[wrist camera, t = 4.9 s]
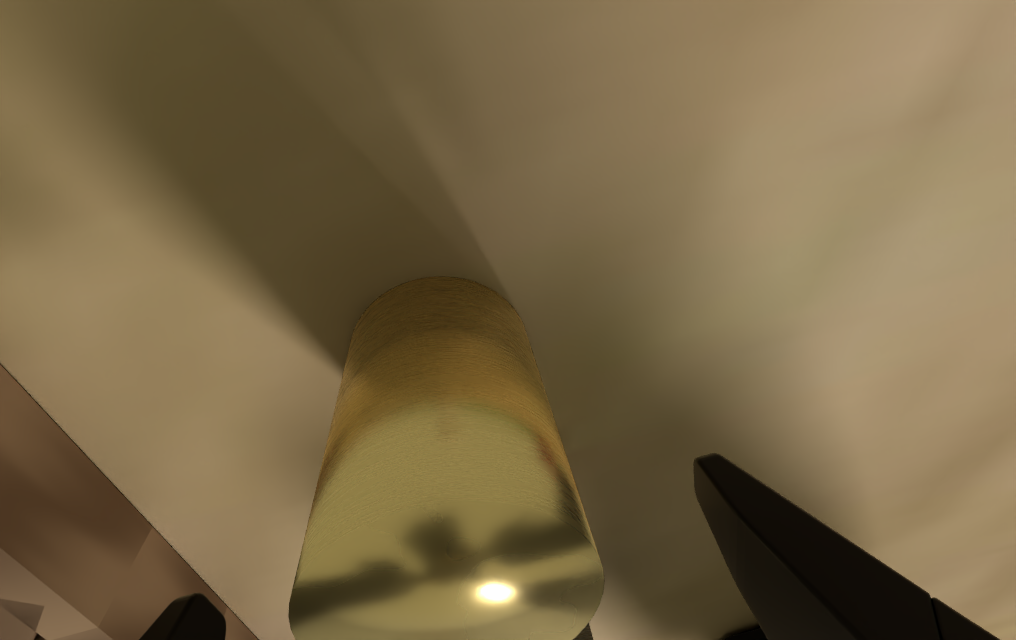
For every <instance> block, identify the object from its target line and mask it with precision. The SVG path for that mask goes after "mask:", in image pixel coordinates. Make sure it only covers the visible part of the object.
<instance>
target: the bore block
mask: <svg viewBox="0 0 1016 640" xmlns="http://www.w3.org/2000/svg"><path fill="white" fill-rule="evenodd" d="M198 592H199V593H202V594H204V595H205V596H206V597H207V598H208V599H209V600H210V601H211V602H212V603H213V604H214V605H215V606H216V608H217V609H218V610H219V611H220V612H221V613H222V614H223V615H224V617H225V620H226V637H225V640H258V639H257V638H256V637H255V636H254V635H253V634H252V633H251V632H250V631H249V629H248V628H247V627H246V626H245V625H244V624H243V623H242V622H241V621H240V620H239V619H238V618H237V617H236V616H235V614H234V613H233V612H232V611H231V610H230V609H229V608H228V607H227V606H226V605H225V604H224V603H223V602H222V601H221V600H220V598H219V597H218V596H217V595H216V594H215V593H214V592H213V591H212V590H211V589H210V588H209V587H208V586H207V585H206V584H205V582H204V581H203V580H202V579H201V578H200V577H199V576H198V575H197V574H196V573H195V572H194V571H193V570H192V569H191V568H190V566H189V565H188V564H187V563H186V562H185V561H184V560H183V559H182V558H181V557H180V556H179V555H178V554H177V553H176V552H175V550H174V549H173V548H172V547H171V546H170V545H169V544H168V543H167V542H166V541H165V540H164V539H163V538H162V537H161V536H160V534H159V533H158V532H157V531H156V530H155V529H154V528H153V527H152V526H151V525H150V524H149V523H148V522H147V521H146V520H145V518H144V517H143V516H142V515H141V514H140V513H139V512H138V511H137V510H136V509H135V508H134V507H133V506H132V505H131V504H130V502H129V501H128V500H127V499H126V498H125V497H124V496H123V495H122V494H121V493H120V492H119V491H118V490H117V489H116V488H115V486H114V485H113V484H112V483H111V482H110V481H109V480H108V479H107V478H106V477H105V476H104V475H103V474H102V473H101V471H100V470H99V469H98V468H97V467H96V466H95V465H94V464H93V463H92V462H91V461H90V460H89V459H88V458H87V457H86V455H85V454H84V453H83V452H82V451H81V450H80V449H79V448H78V447H77V446H76V445H75V444H74V443H73V442H72V441H71V439H70V438H69V437H68V436H67V435H66V434H65V433H64V432H63V431H62V430H61V429H60V428H59V427H58V426H57V425H56V423H55V422H54V421H53V420H52V419H51V418H50V417H49V416H48V415H47V414H46V413H45V412H44V411H43V410H42V409H41V407H40V406H39V405H38V404H37V403H36V402H35V401H34V400H33V399H32V398H31V397H30V396H29V395H28V394H27V393H26V391H25V390H24V389H23V388H22V387H21V386H20V385H19V384H18V383H17V382H16V381H15V380H14V379H13V378H12V377H11V375H10V374H9V373H8V372H7V371H6V370H5V369H4V368H3V367H2V366H1V365H0V640H139V639H140V638H141V637H142V635H143V634H144V633H145V632H146V631H147V630H148V628H149V627H150V626H151V625H152V624H153V623H154V621H155V620H156V619H157V618H158V617H159V616H160V615H161V613H162V612H163V611H164V610H165V609H166V608H167V606H168V605H169V604H170V603H171V602H172V601H173V600H175V599H177V598H179V597H182V596H185V595H189V594H193V593H198Z"/></svg>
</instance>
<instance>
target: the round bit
mask: <svg viewBox="0 0 1016 640" xmlns="http://www.w3.org/2000/svg"><path fill="white" fill-rule="evenodd" d="M603 590H604V571H603V567H602V564H601V561H600V558H599V555H598V552H597V548H596V545H595V542H594V539H593V536H592V533H591V530H590V527H589V524H588V521H587V518H586V515H585V512H584V509H583V505H582V502H581V499H580V496H579V493H578V490H577V487H576V484H575V481H574V478H573V475H572V472H571V469H570V466H569V463H568V459H567V456H566V453H565V450H564V447H563V444H562V441H561V438H560V435H559V432H558V429H557V426H556V423H555V420H554V416H553V413H552V410H551V407H550V404H549V401H548V398H547V395H546V392H545V389H544V386H543V383H542V380H541V377H540V374H539V370H538V367H537V364H536V361H535V358H534V355H533V352H532V349H531V346H530V343H529V340H528V337H527V334H526V331H525V328H524V325H523V323H522V321H521V319H520V317H519V315H518V314H517V312H516V311H515V310H514V308H513V307H512V306H511V305H510V304H509V303H508V302H507V301H506V300H505V299H504V298H503V297H501V296H500V295H499V294H498V293H496V292H495V291H493V290H491V289H489V288H488V287H486V286H483V285H481V284H479V283H476V282H473V281H469V280H466V279H461V278H455V277H428V278H422V279H417V280H413V281H410V282H407V283H404V284H401V285H399V286H397V287H395V288H393V289H391V290H389V291H387V292H386V293H384V294H383V295H381V296H380V297H379V298H378V299H376V300H375V301H374V302H373V303H372V304H371V305H370V306H369V307H368V308H367V309H366V310H365V312H364V313H363V314H362V316H361V317H360V319H359V321H358V322H357V325H356V327H355V329H354V331H353V335H352V339H351V343H350V347H349V351H348V355H347V360H346V364H345V368H344V372H343V377H342V381H341V385H340V389H339V394H338V398H337V402H336V406H335V411H334V415H333V419H332V423H331V428H330V432H329V436H328V440H327V445H326V449H325V453H324V457H323V462H322V466H321V470H320V474H319V479H318V483H317V487H316V491H315V496H314V500H313V504H312V509H311V513H310V517H309V521H308V526H307V530H306V534H305V538H304V543H303V547H302V551H301V555H300V560H299V564H298V568H297V572H296V577H295V581H294V585H293V589H292V594H291V598H290V602H289V622H290V627H291V630H292V633H293V635H294V637H295V639H296V640H573V639H574V638H575V637H576V636H577V635H578V634H579V633H580V632H581V631H582V630H583V629H584V628H585V627H586V625H587V624H588V623H589V621H590V620H591V618H592V617H593V616H594V614H595V612H596V610H597V608H598V606H599V604H600V601H601V598H602V595H603Z"/></svg>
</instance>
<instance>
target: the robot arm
mask: <svg viewBox="0 0 1016 640" xmlns="http://www.w3.org/2000/svg"><path fill="white" fill-rule="evenodd" d="M693 466H694V487H695V493H696V497H697V499H698V502H699V504H700V506H701V509H702V511H703V513H704V515H705V517H706V520H707V522H708V524H709V526H710V528H711V531H712V533H713V535H714V537H715V539H716V542H717V544H718V546H719V548H720V550H721V553H722V555H723V557H724V559H725V561H726V564H727V566H728V568H729V570H730V572H731V574H732V577H733V579H734V581H735V583H736V585H737V587H738V588H739V590H740V592H741V594H742V596H743V598H744V599H745V601H746V603H747V604H748V606H749V608H750V610H751V611H752V613H753V615H754V616H755V618H756V620H757V622H758V623H759V625H760V627H761V628H760V629H756V630H752V631H749V632H745V633H741V634H738V635H734V636H731V637H728V638H727V639H725V640H1000V639H998V638H997V637H995V636H994V635H992V634H991V633H989V632H988V631H986V630H984V629H983V628H981V627H980V626H978V625H977V624H975V623H973V622H972V621H970V620H969V619H967V618H966V617H964V616H963V615H961V614H960V613H958V612H957V611H955V610H953V609H952V608H950V607H949V606H947V605H946V604H944V603H943V602H941V601H940V600H938V599H937V598H931V597H930V595H929V593H928V592H926V591H925V590H923V589H922V588H920V587H919V586H917V585H916V584H914V583H913V582H911V581H910V580H908V579H906V578H905V577H903V576H902V575H900V574H899V573H897V572H896V571H894V570H893V569H891V568H890V567H888V566H887V565H885V564H884V563H882V562H881V561H879V560H878V559H876V558H875V557H873V556H872V555H870V554H869V553H867V552H866V551H864V550H863V549H861V548H860V547H858V546H857V545H855V544H854V543H852V542H851V541H849V540H848V539H846V538H845V537H843V536H842V535H840V534H839V533H837V532H836V531H834V530H833V529H831V528H830V527H828V526H827V525H825V524H824V523H822V522H821V521H819V520H818V519H816V518H815V517H813V516H812V515H810V514H809V513H807V512H806V511H804V510H803V509H801V508H800V507H798V506H797V505H795V504H794V503H792V502H791V501H789V500H788V499H786V498H784V497H783V496H781V495H780V494H778V493H777V492H775V491H774V490H772V489H771V488H769V487H768V486H766V485H765V484H763V483H762V482H760V481H759V480H757V479H756V478H754V477H753V476H751V475H750V474H748V473H747V472H745V471H744V470H742V469H741V468H739V467H738V466H736V465H735V464H733V463H732V462H730V461H729V460H727V459H726V458H724V457H723V456H721V455H719V454H716V453H712V454H708V455H704V456H701V457H697V458H695V460H694V464H693ZM225 637H226V620H225V617H224V615H223V614H222V613H221V612H220V611H219V610H218V609H217V608H216V606H215V605H214V604H213V603H212V602H211V601H210V600H209V599H208V598H207V597H206V596H205V595H204V594H202V593H199V592H198V593H193V594H189V595H185V596H182V597H179V598H177V599H175V600H173V601H172V602H171V603H170V604H169V605H168V606H167V608H166V609H165V610H164V611H163V612H162V613H161V615H160V616H159V617H158V618H157V619H156V620H155V621H154V623H153V624H152V625H151V626H150V627H149V628H148V630H147V631H146V632H145V633H144V634H143V635H142V637H141V638H140V639H139V640H225Z"/></svg>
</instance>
